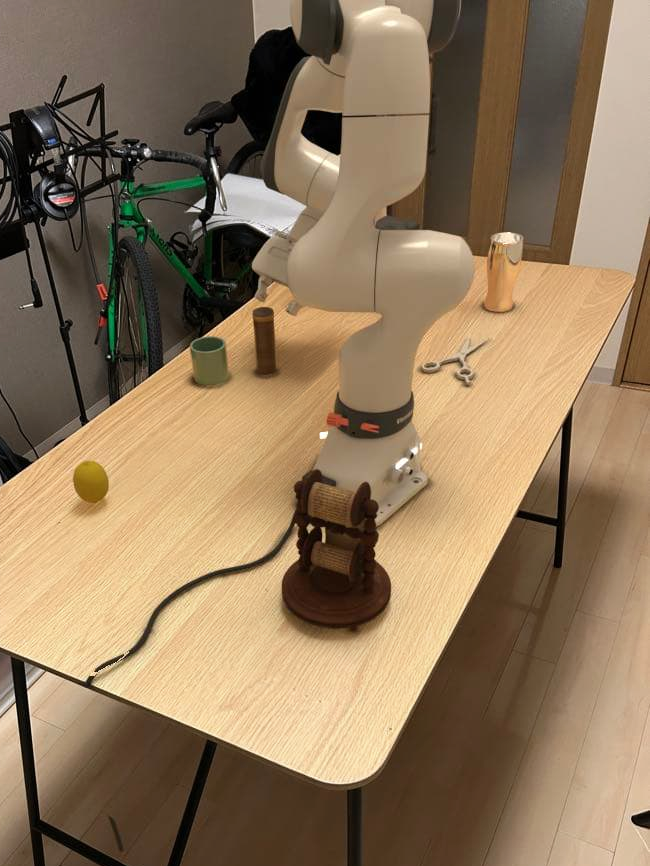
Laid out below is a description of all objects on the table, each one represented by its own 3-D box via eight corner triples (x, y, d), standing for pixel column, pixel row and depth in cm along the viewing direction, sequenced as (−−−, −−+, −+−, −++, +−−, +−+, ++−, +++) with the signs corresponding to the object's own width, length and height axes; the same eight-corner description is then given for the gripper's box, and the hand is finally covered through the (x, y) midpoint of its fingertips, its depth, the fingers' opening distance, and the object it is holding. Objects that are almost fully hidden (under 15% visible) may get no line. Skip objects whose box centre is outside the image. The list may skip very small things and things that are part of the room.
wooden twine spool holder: (407, 581, 114) (415, 461, 101) (363, 651, 104) (366, 529, 92) (312, 551, 120) (308, 435, 108) (262, 615, 111) (252, 496, 98)
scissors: (416, 370, 158) (456, 328, 171) (416, 374, 159) (456, 331, 171) (468, 382, 153) (506, 338, 166) (468, 386, 154) (506, 341, 166)
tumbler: (216, 390, 160) (213, 355, 155) (187, 383, 163) (182, 348, 158) (235, 374, 164) (232, 339, 160) (206, 368, 168) (202, 333, 163)
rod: (270, 379, 162) (267, 317, 154) (252, 375, 164) (248, 313, 155) (280, 370, 164) (277, 308, 156) (263, 366, 166) (259, 305, 158)
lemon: (96, 488, 137) (87, 448, 132) (119, 499, 134) (110, 458, 129) (71, 505, 134) (61, 464, 129) (94, 516, 131) (85, 475, 126)
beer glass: (480, 312, 178) (488, 243, 169) (483, 299, 183) (490, 231, 174) (514, 313, 176) (523, 244, 167) (515, 300, 181) (525, 232, 172)
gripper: (266, 221, 159) (231, 284, 161) (339, 245, 146) (299, 314, 148) (285, 237, 164) (250, 299, 166) (356, 263, 151) (318, 329, 153)
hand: (274, 306), depth 157 cm, fingers open, 8 cm apart
